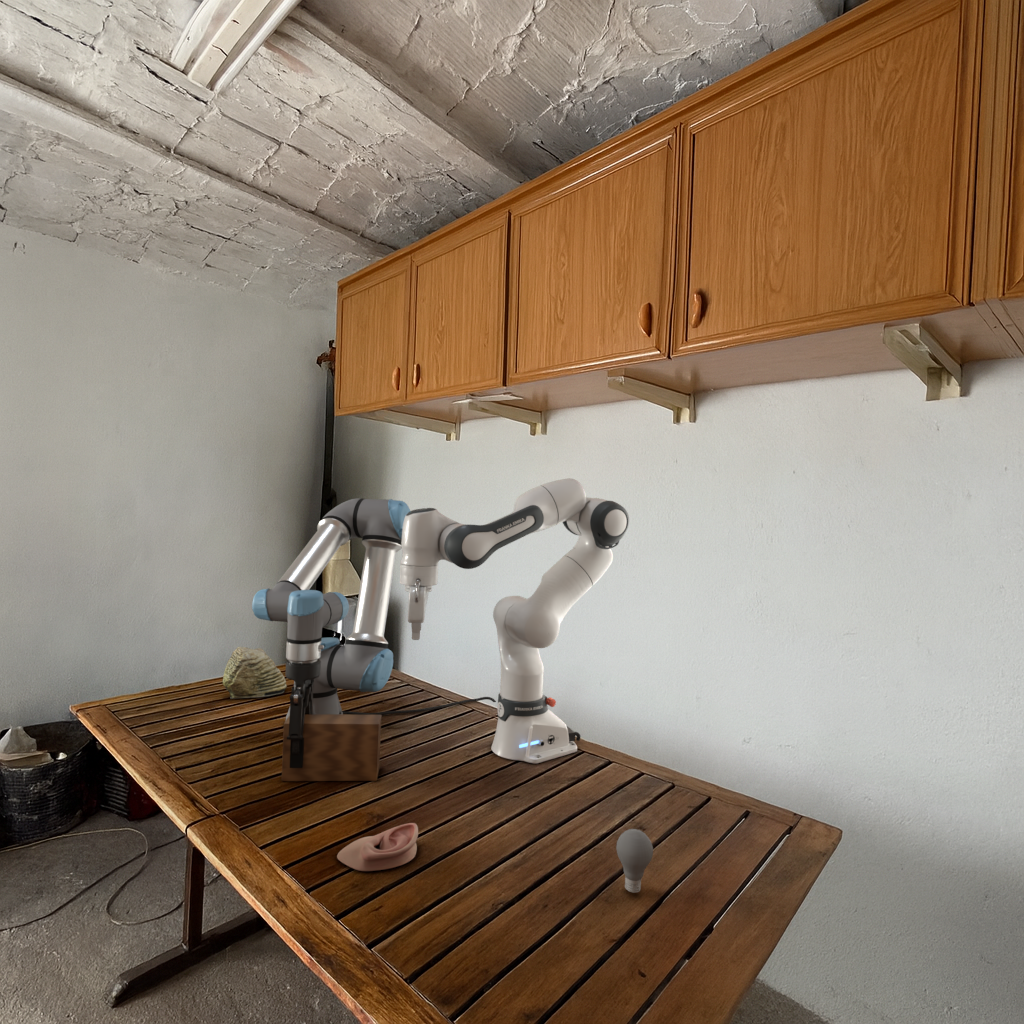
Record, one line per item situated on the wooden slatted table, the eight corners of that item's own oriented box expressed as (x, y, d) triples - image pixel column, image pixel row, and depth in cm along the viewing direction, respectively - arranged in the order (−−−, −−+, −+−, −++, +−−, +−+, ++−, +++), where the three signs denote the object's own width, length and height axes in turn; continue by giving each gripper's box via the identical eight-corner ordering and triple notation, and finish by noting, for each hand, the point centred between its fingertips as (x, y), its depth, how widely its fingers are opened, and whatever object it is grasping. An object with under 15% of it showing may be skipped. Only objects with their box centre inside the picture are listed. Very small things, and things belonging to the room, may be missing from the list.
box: (281, 781, 140) (283, 723, 140) (288, 769, 146) (290, 714, 146) (376, 780, 142) (378, 723, 142) (379, 769, 148) (381, 714, 148)
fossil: (218, 695, 195) (220, 647, 195) (278, 685, 208) (279, 640, 207) (228, 703, 189) (230, 653, 188) (289, 692, 201) (290, 645, 201)
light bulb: (610, 879, 108) (613, 822, 108) (644, 879, 109) (647, 822, 109) (619, 902, 102) (622, 840, 102) (655, 901, 103) (658, 840, 103)
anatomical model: (329, 843, 109) (358, 811, 120) (328, 865, 109) (357, 832, 120) (402, 855, 106) (425, 821, 117) (401, 878, 106) (424, 842, 117)
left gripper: (312, 671, 134) (307, 779, 134) (328, 649, 153) (324, 744, 153) (275, 670, 133) (271, 779, 134) (296, 649, 152) (292, 744, 152)
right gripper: (431, 582, 139) (429, 645, 140) (432, 571, 160) (430, 626, 160) (402, 582, 139) (400, 644, 139) (407, 571, 159) (405, 625, 159)
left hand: (299, 760), depth 143 cm, fingers closed on box, 6 cm apart
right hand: (416, 634), depth 150 cm, fingers open, 8 cm apart
